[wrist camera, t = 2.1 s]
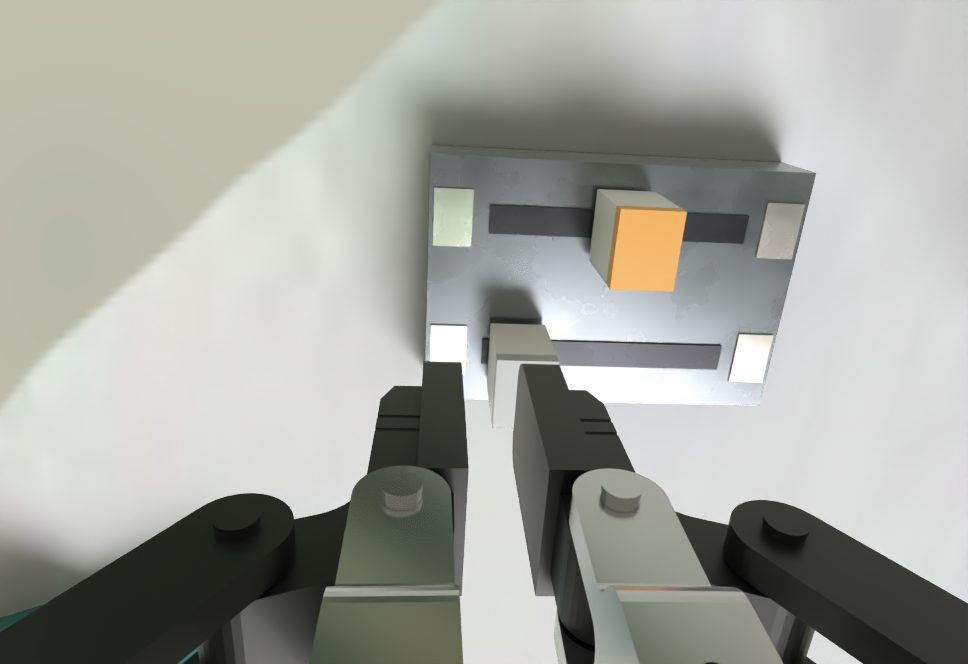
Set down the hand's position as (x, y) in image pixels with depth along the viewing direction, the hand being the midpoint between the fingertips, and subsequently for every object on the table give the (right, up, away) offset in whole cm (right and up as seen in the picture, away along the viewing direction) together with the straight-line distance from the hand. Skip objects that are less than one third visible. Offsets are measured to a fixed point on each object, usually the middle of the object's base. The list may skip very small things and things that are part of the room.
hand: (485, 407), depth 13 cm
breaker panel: (+5, +4, +19) cm, 20 cm away
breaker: (+1, 0, +17) cm, 17 cm away
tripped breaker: (+6, +6, +15) cm, 17 cm away
